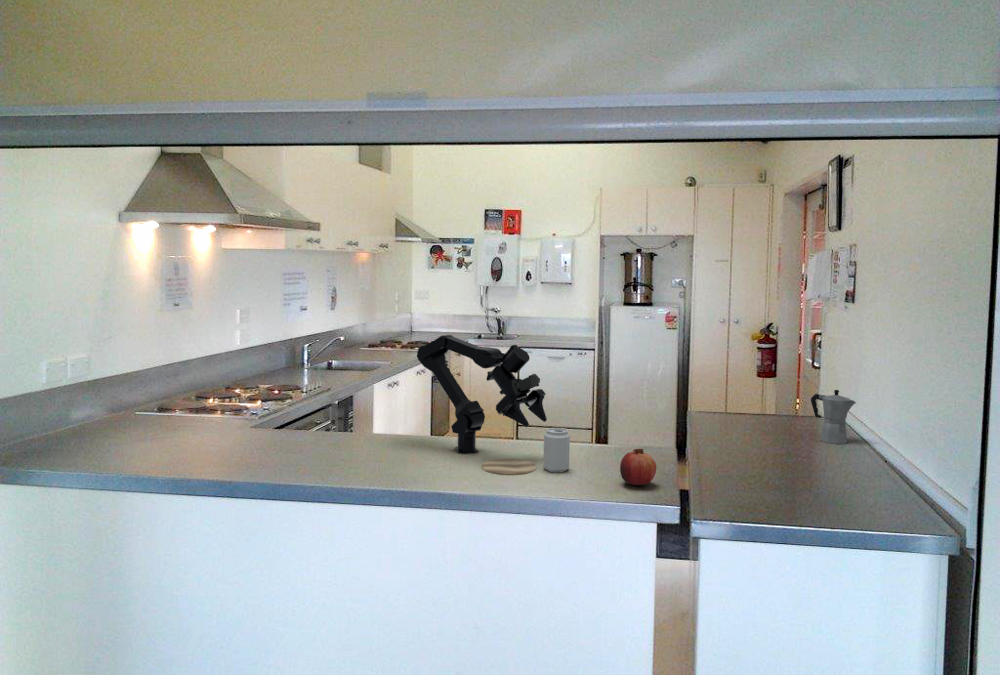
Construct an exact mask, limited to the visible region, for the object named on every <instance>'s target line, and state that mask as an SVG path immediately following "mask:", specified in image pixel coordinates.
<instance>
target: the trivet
mask: <svg viewBox="0 0 1000 675" xmlns="http://www.w3.org/2000/svg"><path fill="white" fill-rule="evenodd" d="M481 469H482V470H484V471H485V472H487V473H491V474H494V475H495V474H496V475H500V476H501V475H503V476H504V475H505V476H517V475H519V476H520V475H527V474H531V473H533V472H534V471H535V472H536V469H537V465H536V464H535V463H534V462H532V461H529V460H526V459H520V458H495V459H490V460H489V459H488V460H487V461H484V462H483V463H482V464H481Z"/></svg>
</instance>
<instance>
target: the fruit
mask: <svg viewBox="0 0 1000 675" xmlns="http://www.w3.org/2000/svg"><path fill="white" fill-rule="evenodd" d="M644 449H645V448H636V449H635V448H634V449H633V450H632V451H631V452H627V453H626V454H624V456H623V457H622V459H621V462H620V464H619V466H620V467H619V472H620V477H621V478H622V480H623V481H624V482H625V483H627V484H628V485H633V486H644V485H645V486H646V485H647V484H648V485H649V483H651V482H652V481H653V480H654V478H655V476H656V473H657V463H656V461H655V460H654V458H653V457H652V455H650V454H648V453H646V452H644Z"/></svg>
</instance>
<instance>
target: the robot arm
mask: <svg viewBox="0 0 1000 675" xmlns="http://www.w3.org/2000/svg"><path fill="white" fill-rule="evenodd" d="M449 351H452V352H454V353H456V354H459V355H461V356H463V357H467V358H469V359H471V360H472V361H473V362H474V364H476V365H477V366H479V367H480V368H482V369H485V370H486V369H491V368H493V369H492V370H490V371H487V372H486V373H487V376H486V381H487V382H489V381H494V382H495V384H496V385H497V386H498V387H499V388H500V391H499V394H500V395H503V397H502V398H501V399H500V401H498V403H497V404H495V410H496V412H497V414H498V415H502V416H503V417H507V418H509V419H511V420H513V421H514V422H517V423H518V424H520V425H522V426H523V427H526V428H528V427H529V425H530V424H529V423H530V422H528V420H527V417H525V415H524V412H522V409H521V405H522V404H524V405H525V406H526V407H527V408H528V409H527V410H529V411H530V412H531V413H532V414H533V415H535V416H536V417H537V418H538V419H539V420H540V421H542V422H544V423H545V422H547V420H548V419H547V416H546V415H547V414H546V413H545V410H544V404H543V400H544V399H545V396H546V394H547V393H546V392H545V390H543V389H542V388H537V389H533V388H535V387H539V386H540V383H541V378H540V377H539V376H538V375H537V374H536V373H532V374H531V375H528V376H527V377H525V378H523V379H522V378H517V377H516V376H515V375H514V374H518V373H519V372H520V371H521V370H522V369H523V367H525V365H526V364H528V362H529V361H530V355H529V352H527V351H526V350H524V349H523V348H521V347H519V346H518V345H517V344H511V346H509V348H508V350H507V351H506V352H505V353H503V352H502V351H501V350H500V349H499V348H495V347H488V346H487V347H486V346H479V345H476V344H475V343H474V344H473V343H471V342H468V341H466V340H463V339H460V338H458V337H455V336H454V335H451V334H443V335H440V336H438V337H437V338H435V339H434V340H433V341H430V342H429V343H426V344H425V345H421V346H419V348H418V349H417V352H416V358H417V360H418V362H420V364H421V365H422V366H423V367H424V368H425V369H427V370H429V371H430V372H432V373H433V375H434V376H435V378H436V380H437V381H438V383H439V385H440V386H441V387H442V389H443V391H444V392H445V394H446V395H447V397H448V399H449V400H450V401H451V403H452V405H453V406H454V410H455V412H454V413H455V418H456V420H455V422H454V423H453V424H452V425H451V426H450V427H451V431H452V433H454V434H456V435H457V446H455V447H454V450H455V451H456V452H457V453H458V454H467V453H478V452H479V449H478V448H477V447H476V441H477V440H476V439H477V438H476V437H477V436H476V434H477V433H476V432H477V431H478V432H479V431H481V430H482V427H483V425H484V424H485V419H486V416H485V415H486V414H485V413H484V411H485V409H483V408H482V406H481V405H480V402H479V401H478V400H473V401H472V400H470V399H469V398H468V397H467V395H466V393H465V392H464V391H463V389H462V388H461V386H460V384H459V383H458V381H457V379H456V378H455V377H454V374H452V372H451V371H450V368H449V367H448V366H447V362H446V359H447V358H446V355H445V354H447V353H448V352H449ZM531 389H532V390H531Z"/></svg>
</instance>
